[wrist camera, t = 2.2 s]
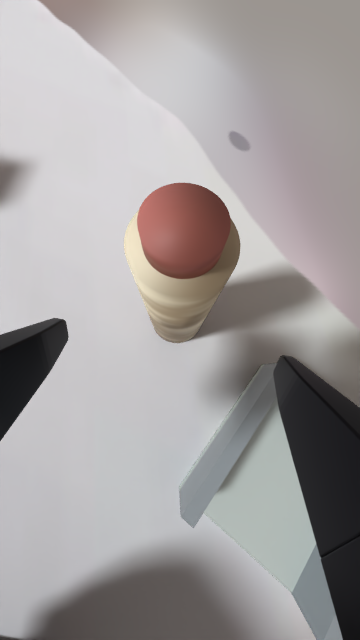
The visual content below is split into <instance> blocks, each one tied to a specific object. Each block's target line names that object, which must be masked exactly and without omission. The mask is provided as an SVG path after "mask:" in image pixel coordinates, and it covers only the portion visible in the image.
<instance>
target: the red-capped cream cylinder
mask: <svg viewBox="0 0 360 640" xmlns="http://www.w3.org/2000/svg"><path fill="white" fill-rule="evenodd" d="M124 250H125V255H126V259H127V262H128V264H129V267H130V269H131V272H132V274H133V277H134V279H135V282H136V284H137V287H138V289H139V292H140V294H141V297H142V299H143V302H144V304H145V307H146V309H147V311H148V314H149V316H150V319H151V321H152V324H153V326H154V329H155V331H156V332H157V334H158V335H159V336H160V337H161V338H163V339H164V340H166V341H169V342H172V343H181V342H185V341H188V340H190V339H191V338H192V337H194V336H195V334H196V333H197V332H198V330H199V329H200V327H201V325H202V323H203V322H204V320H205V318H206V317H207V315H208V313H209V311H210V310H211V308H212V306H213V305H214V303H215V301H216V300H217V298H218V296H219V294H220V293H221V291H222V289H223V288H224V286H225V284H226V283H227V281H228V279H229V277H230V276H231V274H232V272H233V271H234V269H235V267H236V265H237V262H238V259H239V254H240V239H239V235H238V231H237V229H236V227H235V224H234V223H233V221H232V220H231V218H230V215H229V212H228V210H227V207H226V206H225V204H224V203H223V201H222V200H221V199H220V198H219V197H218V196H217V195H216V194H214V193H213V192H212V191H210V190H208V189H207V188H204V187H202V186H199V185H196V184H191V183H174V184H169V185H166V186H163V187H161V188H159V189H157V190H155V191H154V192H152V193H151V194H150V195H149V196H148V197H147V198H146V199H145V200H144V202H143V203H142V205H141V207H140V209H139V211H138V212H137V213H136V214H135V215H134V216H133V218H132V219H131V221H130V223H129V225H128V227H127V230H126V233H125V238H124Z"/></svg>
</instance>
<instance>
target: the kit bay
mask: <svg viewBox="0 0 360 640" xmlns="http://www.w3.org/2000/svg"><path fill="white" fill-rule="evenodd" d="M276 364H277V363H273V364H263V365H261V366H260V368H259V369H258V371H257V372H256V374H255V375H254V377H253V378H252V380H251V381H250V383H249V384H248V386H247V387H246V389H245V390H244V392H243V393H242V395H241V396H240V397H239V399H238V400H237V402H236V403H235V405H234V406H233V408H232V409H231V411H230V412H229V414H228V415H227V417H226V418H225V420H224V421H223V423H222V424H221V426H220V427H219V429H218V430H217V431H216V433H215V434H214V436H213V437H212V439H211V440H210V442H209V443H208V445H207V446H206V448H205V449H204V451H203V452H202V454H201V455H200V457H199V458H198V460H197V461H196V462H195V464H194V465H193V467H192V468H191V470H190V471H189V473H188V474H187V476H186V477H185V479H184V480H183V482H182V483H181V485H180V486H179V494H180V512H181V517H182V518H183V519H184V520H185V521H186V522H187V523H188V524H189V525H190V526H191V527H192V528H194V527H195V525H196V524H197V522H198V521H199V519H200V517H201V516H202V514H203V513H204V514H205V515H206V516H207V517H209V518H210V519H211V520H212V521H213V522H214V523H215V524H216V525H217V526H218V527H219V528H221V529H222V530H223V531H224V532H225V533H226V534H227V535H228V536H229V537H230V538H232V539H233V540H234V541H235V542H236V543H237V544H238V545H239V546H240V547H241V548H242V549H244V550H245V551H246V552H247V553H248V554H249V555H250V556H251V557H252V558H253V559H255V560H256V561H257V562H258V563H259V564H260V565H261V566H262V567H263V568H264V569H265V570H267V571H268V572H269V573H270V574H271V575H272V576H273V577H274V578H275V579H276V580H278V581H279V582H280V583H281V584H282V585H283V586H284V587H285V588H286V589H287V590H288V591H290V592H291V593H292V595H293V597H294V599H295V601H296V602H297V604H298V606H299V608H300V610H301V612H302V613H303V615H304V617H305V619H306V621H307V623H308V625H309V626H310V628H311V630H312V632H313V634H314V636H315V637H316V639H317V640H343V638H342V635H341V631H340V628H339V624H338V620H337V617H336V613H335V610H334V606H333V603H332V599H331V595H330V592H329V588H328V585H327V581H326V578H325V574H324V570H323V567H322V563H321V557H320V555H319V552H318V548H317V545H316V541H315V537H314V534H313V530H312V527H311V523H310V519H309V516H308V512H307V509H306V505H305V502H304V498H303V494H302V491H301V487H300V484H299V480H298V476H297V473H296V469H295V466H294V462H293V459H292V455H291V451H290V448H289V444H288V441H287V437H286V433H285V430H284V426H283V423H282V419H281V416H280V412H279V407H278V402H277V396H276V389H275V383H274V377H273V371H274V369H275V366H276Z"/></svg>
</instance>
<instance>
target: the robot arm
mask: <svg viewBox="0 0 360 640" xmlns="http://www.w3.org/2000/svg"><path fill="white" fill-rule="evenodd" d="M67 341H68V331H67V325H66V321H65V320H63V319H58V318H53V319H49V320H46V321H43V322H40V323H37V324H33V325H30V326H27V327H24V328H21V329H18V330H14V331H11V332H8V333H5V334H2V335H0V441H1V440H2V438H3V437H4V435H5V434H6V433H7V431H8V430H9V428H10V427H11V426H12V424H13V423H14V421H15V420H16V419H17V417H18V416H19V414H20V413H21V412H22V410H23V409H24V407H25V406H26V405H27V403H28V402H29V400H30V399H31V398H32V396H33V395H34V394H35V392H36V391H37V389H38V388H39V387H40V385H41V384H42V382H43V381H44V380H45V378H46V377H47V375H48V374H49V372H50V371H51V369H52V368H53V366H54V364H55V362H56V361H57V359H58V357H59V355H60V353H61V352H62V350H63V348H64V346H65V345H66V343H67ZM273 377H274V383H275V389H276V396H277V402H278V407H279V412H280V416H281V419H282V423H283V426H284V430H285V433H286V437H287V441H288V444H289V448H290V451H291V455H292V459H293V462H294V466H295V469H296V473H297V476H298V480H299V484H300V487H301V491H302V494H303V498H304V502H305V505H306V509H307V512H308V516H309V519H310V523H311V527H312V530H313V534H314V537H315V541H316V545H317V548H318V552H319V555H320V557H321V563H322V567H323V570H324V574H325V578H326V581H327V585H328V588H329V592H330V595H331V599H332V603H333V606H334V610H335V613H336V617H337V620H338V624H339V628H340V631H341V635H342V638H343V640H360V408H359V407H358V406H357V405H355V404H354V403H353V402H351V401H350V400H349V399H347V398H346V397H345V396H343V395H342V394H341V393H339V392H338V391H337V390H336V389H334V388H333V387H332V386H330V385H329V384H328V383H326V382H325V381H324V380H322V379H321V378H320V377H318V376H317V375H316V374H314V373H313V372H312V371H311V370H309V369H308V368H307V367H305V366H304V365H303V364H301V363H300V362H299V361H297V360H296V359H295V358H293V357H291V356H285V355H283V356H281V357H280V358H279V360H278V362H277V364H276V366H275V369H274V371H273Z"/></svg>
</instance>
